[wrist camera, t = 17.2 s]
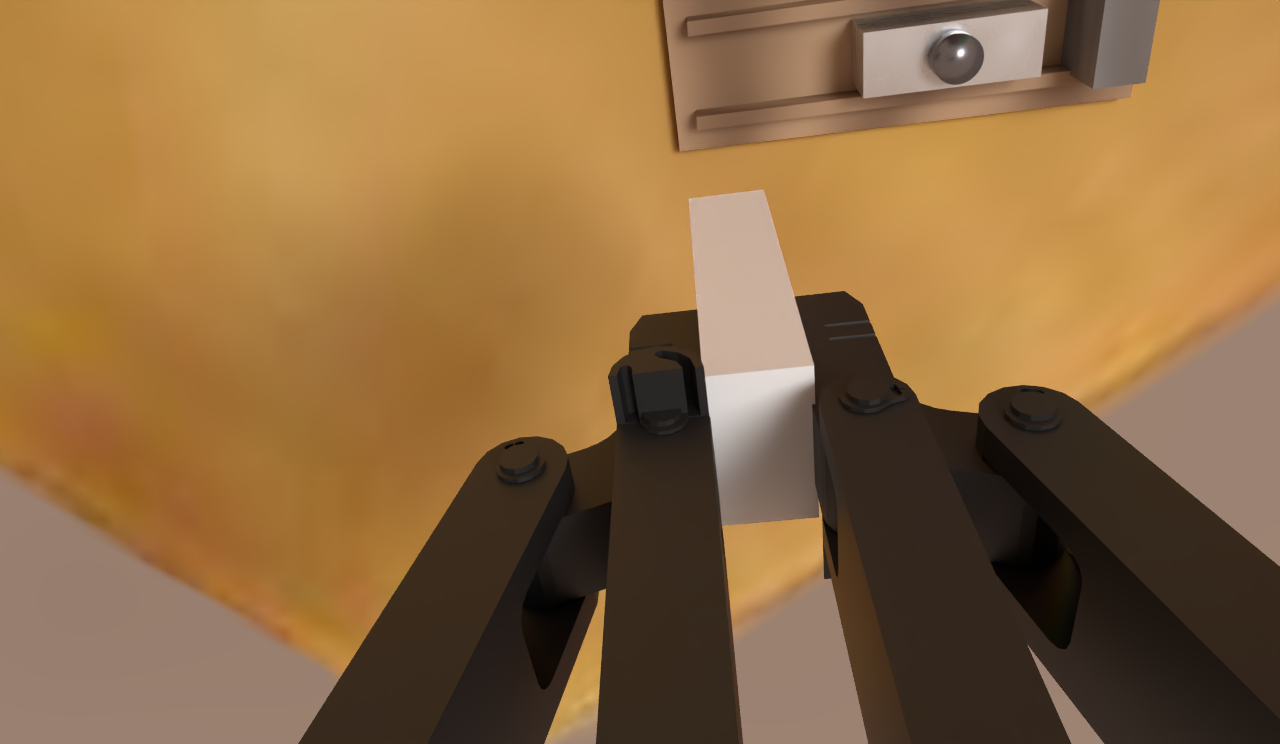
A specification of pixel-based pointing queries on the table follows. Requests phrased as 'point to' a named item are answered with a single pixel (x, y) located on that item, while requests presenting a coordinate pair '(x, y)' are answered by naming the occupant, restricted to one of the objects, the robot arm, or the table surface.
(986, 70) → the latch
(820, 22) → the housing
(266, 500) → the table surface
